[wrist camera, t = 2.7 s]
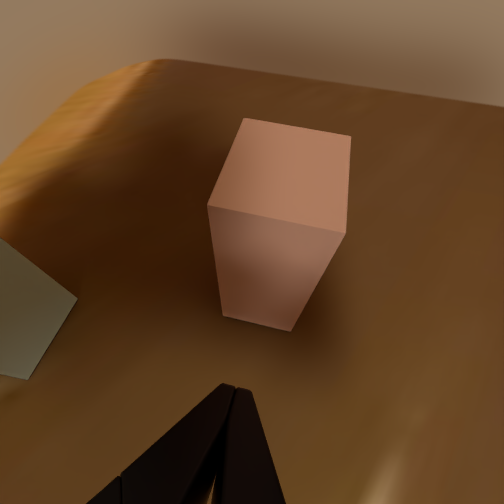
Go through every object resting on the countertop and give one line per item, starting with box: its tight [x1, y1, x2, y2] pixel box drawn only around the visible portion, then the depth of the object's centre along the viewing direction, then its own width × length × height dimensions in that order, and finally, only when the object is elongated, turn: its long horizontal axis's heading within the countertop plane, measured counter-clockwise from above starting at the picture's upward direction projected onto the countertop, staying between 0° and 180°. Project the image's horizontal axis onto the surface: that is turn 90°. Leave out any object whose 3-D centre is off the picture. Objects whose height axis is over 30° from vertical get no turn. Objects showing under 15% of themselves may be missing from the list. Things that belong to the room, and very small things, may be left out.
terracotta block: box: [207, 118, 351, 332], centre depth 13 cm, size 4×4×10 cm
